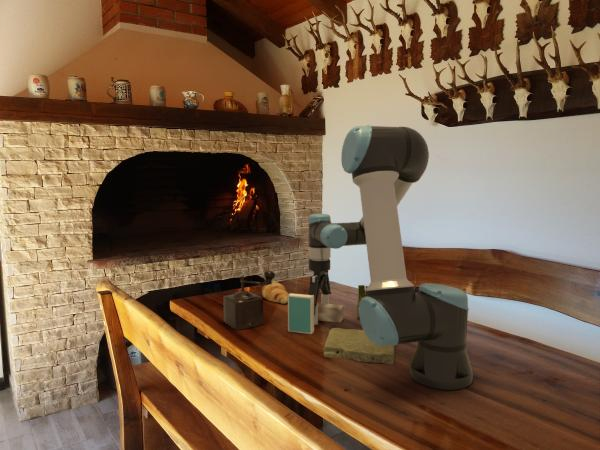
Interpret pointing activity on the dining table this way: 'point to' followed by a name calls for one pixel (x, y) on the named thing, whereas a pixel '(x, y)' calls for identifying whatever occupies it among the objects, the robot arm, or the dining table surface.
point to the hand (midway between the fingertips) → (319, 317)
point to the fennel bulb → (361, 295)
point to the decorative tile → (356, 347)
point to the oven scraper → (330, 312)
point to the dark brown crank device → (245, 305)
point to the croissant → (275, 292)
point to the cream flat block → (301, 313)
